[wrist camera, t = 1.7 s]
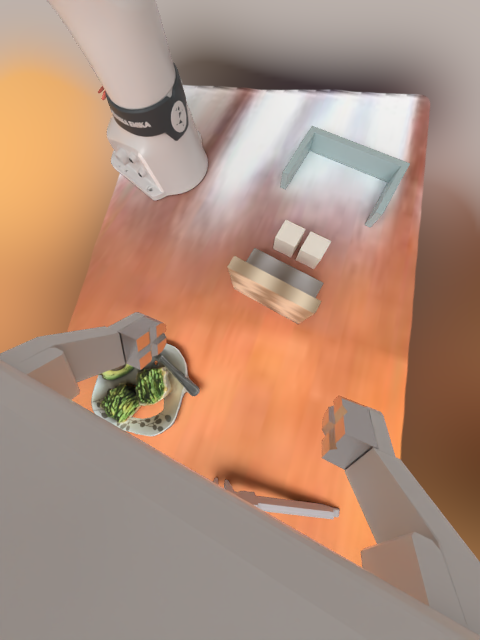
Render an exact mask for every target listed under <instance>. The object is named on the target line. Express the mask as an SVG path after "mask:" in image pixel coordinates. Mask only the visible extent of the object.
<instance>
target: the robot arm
mask: <svg viewBox="0 0 480 640" xmlns="http://www.w3.org/2000/svg"><path fill="white" fill-rule="evenodd" d="M47 1H48V3H49V4H50V5H51V6H52V8H53V9H54V10H55V12H56V13H57V14H58V16H59V17H60V19H61V20H62V22H63V23H64V24H65V26H66V27H67V29H68V30H69V32H70V33H71V35H72V37H73V38H74V39H75V41H76V43H77V44H78V46H79V47H80V49H81V51H82V52H83V54H84V55H85V57H86V59H87V60H88V62H89V64H90V65H91V67H92V69H93V70H94V72H95V74H96V75H97V77H98V79H99V81H100V82H101V84H102V87H101V88H100V90H99V91H98V93H101V92H102V91H103V90H104V89H105V91H104V92H103V96H102V100H104V99H105V98H106V97H107V100H108V103H109V106H110V109H111V112H112V117H111V119H110V122H109V125H108V128H107V137H108V140H109V142H110V144H111V146H112V147H113V149H114V151H113V154H112V158H111V164H112V165H113V167H114V168H115V169H116V170H117V171H118V172H120V173H121V174H122V175H123V176H124V177H126V178H127V179H128V180H129V181H131V182H132V183H133V184H134V185H135V186H137V187H138V188H139V189H140V190H141V191H143V192H144V193H145V194H146V195H148V196H149V197H150V198H151V199H153V200H159V199H162V198H164V197H166V196H168V195H175V194H181V193H184V192H187V191H189V190H191V189H192V188H194V187H195V186H196V185H198V184H199V183H200V182H201V180H202V179H203V177H204V176H205V174H206V171H207V167H208V159H207V155H206V153H205V151H204V149H203V146H202V138H201V135H200V132H199V131H197V129H196V127H195V124H194V121H193V118H192V115H191V112H190V109H189V107H188V104H187V101H186V97H185V93H184V90H183V86H182V85H183V84H182V80H181V78H180V76H179V73H178V69H177V67H176V65H175V64H174V63H173V61H172V58H171V54H170V50H169V47H168V43H167V39H166V36H165V32H164V29H163V25H162V21H161V18H160V14H159V11H158V7H157V4H156V0H47ZM165 331H166V325H165V324H164V323H162V322H160V321H158V320H155V319H153V318H151V317H149V316H146V315H144V314H141V313H139V312H136V313H133V314H131V315H130V316H128V317H126V318H124V319H122V320H120V321H118V322H117V323H115V324H113V325H111V326H109V327H105V326H104V327H98V328H91V329H85V330H79V331H72V332H66V333H60V334H53V335H47V336H41V337H36V338H34V339H32V340H30V341H27V342H26V343H23V344H21V345H19V346H16V347H14V348H12V349H10V350H7V351H5V352H3V353H1V354H0V640H480V562H479V561H478V559H477V558H476V557H475V555H474V554H473V553H472V552H471V550H470V549H469V548H468V546H467V545H466V544H465V543H464V541H463V540H462V539H461V537H460V536H459V535H458V534H457V532H456V531H455V530H454V528H453V527H452V526H451V524H450V523H449V522H448V521H447V519H446V518H445V517H444V515H443V514H442V513H441V511H440V510H439V509H438V508H437V506H436V505H435V504H434V502H433V501H432V500H431V499H430V497H429V496H428V495H427V493H426V492H425V491H424V489H423V488H422V487H421V486H420V484H419V483H418V482H417V481H416V479H415V478H414V476H413V475H412V474H411V473H410V471H409V470H408V469H407V467H406V466H405V465H404V464H403V462H402V461H401V460H400V459H398V458H396V457H395V454H394V450H393V447H392V444H391V440H390V437H389V433H388V430H387V427H386V423H385V420H384V416H383V414H382V413H381V412H379V411H377V410H374V409H372V408H369V407H367V406H364V405H362V404H359V403H357V402H354V401H352V400H349V399H347V398H344V397H342V396H337V397H336V398H335V399H334V406H331V407H328V409H327V410H326V412H325V414H324V417H323V421H322V431H323V432H324V434H325V437H324V438H323V440H322V458H323V459H325V460H327V461H329V462H331V463H333V464H334V465H336V466H338V467H340V468H342V469H344V470H345V473H346V475H347V478H348V480H349V482H350V484H351V487H352V489H353V491H354V493H355V496H356V498H357V500H358V502H359V504H360V507H361V509H362V511H363V513H364V516H365V518H366V520H367V522H368V524H369V527H370V529H371V531H372V533H373V536H374V538H375V540H376V542H377V544H376V545H373V546H370V547H367V548H364V549H363V550H362V551H361V558H362V567H360V566H358V565H356V564H355V563H353V562H351V561H350V560H348V559H346V558H344V557H343V556H341V555H339V554H337V553H336V552H334V551H332V550H330V549H329V548H327V547H325V546H323V545H322V544H320V543H318V542H317V541H315V540H313V539H311V538H310V537H308V536H306V535H304V534H303V533H301V532H299V531H297V530H296V529H294V528H292V527H290V526H289V525H287V524H285V523H284V522H282V521H280V520H278V519H277V518H275V517H273V516H271V515H270V514H268V513H266V512H264V511H263V510H261V509H259V508H257V507H256V506H254V505H252V504H251V503H249V502H247V501H245V500H244V499H242V498H240V497H238V496H237V495H235V494H233V493H231V492H230V491H228V490H226V489H224V488H223V487H221V486H219V485H218V484H216V483H214V482H212V481H211V480H209V479H207V478H205V477H204V476H202V475H200V474H198V473H197V472H195V471H193V470H192V469H190V468H188V467H186V466H185V465H183V464H181V463H179V462H178V461H176V460H174V459H172V458H171V457H169V456H167V455H165V454H164V453H162V452H160V451H159V450H157V449H155V448H153V447H152V446H150V445H148V444H146V443H145V442H143V441H141V440H139V439H138V438H136V437H134V436H132V435H131V434H129V433H127V432H126V431H124V430H122V429H120V428H119V427H117V426H115V425H113V424H112V423H110V422H108V421H106V420H105V419H103V418H101V417H99V416H98V415H96V414H94V413H92V412H91V411H89V410H87V409H86V408H84V407H82V406H80V405H79V404H77V403H75V402H73V401H72V399H73V398H74V397H75V396H77V395H78V394H79V392H80V389H79V387H78V385H77V382H79V381H82V380H85V379H87V378H90V377H93V376H95V375H98V374H101V373H103V372H106V371H109V370H111V369H114V368H117V367H119V366H122V365H125V363H126V364H128V365H131V366H133V367H135V368H137V369H139V370H141V369H143V368H144V367H145V366H146V365H147V364H148V363H149V362H151V360H152V356H156V355H159V354H160V353H161V352H162V351H163V349H164V347H165V346H166V342H167V338H166V336H165V334H164V332H165Z"/></svg>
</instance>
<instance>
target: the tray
mask: <svg viewBox="0 0 480 640" xmlns="http://www.w3.org/2000/svg"><path fill="white" fill-rule="evenodd" d="M309 151H312V152H315V153H317V154H320V155H322V156H325V157H327V158H329V159H332V160H334V161H337V162H339V163H342V164H344V165H347V166H349V167H352V168H354V169H357V170H359V171H361V172H364V173H366V174H369V175H371V176H374V177H376V178H379V179H381V180H384V181H386V182H388V184H387V185H386V187H385V189H384V191H383V193H382V194H381V196H380V198H379V200H378V202H377V203H376V205H375V207H374V209H373V211H372V213H371V214H370V216H369V218H368V220H367V222H366V223H365V225H366V226H368V227H371V226H372V225H373V224H374V223H375V222H376V221H377V220H378V219H379V218H380V217H381V216H382V214H383V212H384V211H385V209H386V207H387V205H388V203H389V201H390V200H391V198H392V196H393V194H394V192H395V190H396V189H397V187H398V185H399V183H400V181H401V179H402V177H403V176H404V174H405V172H406V170H407V168H408V166H409V165H410V163H407V162H405V161H402V160H399V159H397V158H394V157H392V156H389V155H386V154H384V153H381V152H379V151H376V150H373V149H371V148H368V147H366V146H363V145H360V144H358V143H355V142H353V141H350V140H348V139H345V138H342V137H340V136H337V135H335V134H332V133H329V132H327V131H324V130H322V129H319V128H316V127H314V126H312V127H311V128H310V130H309V131H308V133H307V134H306V136H305V138H304V139H303V141H302V142H301V144H300V146H299V147H298V149H297V150H296V152H295V153H294V155H293V157H292V158H291V160H290V161H289V163H288V165H287V166H286V168H285V169H284V171H283V174H282V180H281V186H280V187H281V188H283V189H286V188H287V186H288V184H289V183H290V181H291V180H292V178H293V176H294V175H295V173H296V172H297V170H298V168H299V167H300V165H301V164H302V162H303V160H304V159H305V157H306V155H307V154H308V152H309Z"/></svg>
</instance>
